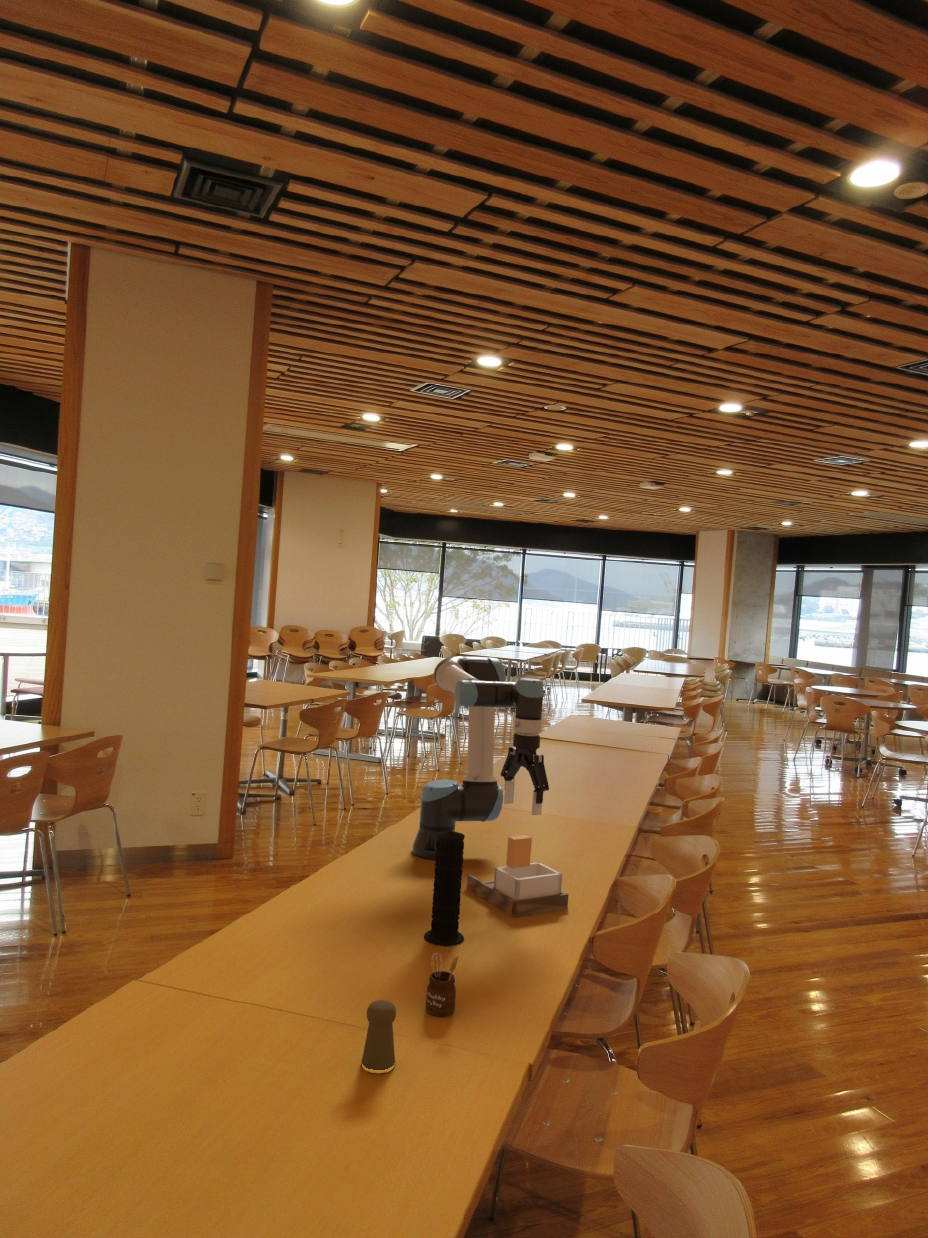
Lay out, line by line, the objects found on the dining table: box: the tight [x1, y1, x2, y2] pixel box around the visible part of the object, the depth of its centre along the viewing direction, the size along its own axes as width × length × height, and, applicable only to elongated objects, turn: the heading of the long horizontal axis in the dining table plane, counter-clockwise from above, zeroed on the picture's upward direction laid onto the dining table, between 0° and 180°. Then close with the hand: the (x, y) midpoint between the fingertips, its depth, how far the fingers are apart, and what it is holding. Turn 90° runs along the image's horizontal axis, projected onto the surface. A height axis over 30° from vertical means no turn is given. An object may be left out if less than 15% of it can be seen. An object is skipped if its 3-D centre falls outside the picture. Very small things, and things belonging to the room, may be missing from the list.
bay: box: [466, 873, 569, 918], centre depth 242 cm, size 24×18×4 cm
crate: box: [493, 834, 563, 901], centre depth 238 cm, size 12×15×16 cm
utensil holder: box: [425, 952, 460, 1018], centre depth 173 cm, size 6×6×12 cm
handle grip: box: [423, 831, 466, 947], centre depth 210 cm, size 10×26×10 cm
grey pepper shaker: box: [361, 999, 397, 1070], centre depth 152 cm, size 6×6×11 cm
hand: (522, 809), depth 242 cm, fingers open, 13 cm apart
